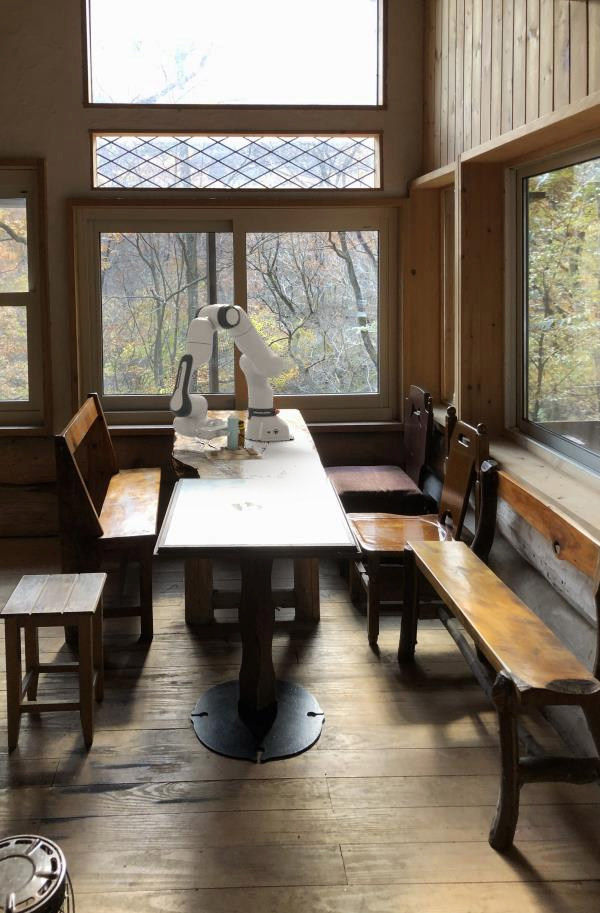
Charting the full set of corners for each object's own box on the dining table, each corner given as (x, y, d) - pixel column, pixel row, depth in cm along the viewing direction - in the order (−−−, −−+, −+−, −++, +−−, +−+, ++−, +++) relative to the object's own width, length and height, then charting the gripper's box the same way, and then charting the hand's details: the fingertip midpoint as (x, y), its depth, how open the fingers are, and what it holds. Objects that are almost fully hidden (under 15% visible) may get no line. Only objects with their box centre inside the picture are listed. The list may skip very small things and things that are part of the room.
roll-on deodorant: (236, 448, 379) (237, 413, 376) (238, 450, 375) (239, 414, 371) (226, 448, 378) (226, 413, 375) (228, 450, 374) (228, 414, 370)
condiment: (248, 449, 392) (248, 421, 390) (231, 450, 388) (231, 422, 385) (239, 445, 398) (240, 418, 396) (222, 447, 393) (223, 420, 391)
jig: (255, 452, 385) (255, 445, 385) (261, 458, 373) (261, 451, 372) (203, 453, 380) (203, 446, 380) (208, 459, 368) (208, 452, 367)
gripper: (191, 424, 372) (219, 428, 365) (221, 418, 389) (248, 422, 382) (191, 440, 373) (219, 444, 366) (221, 433, 390) (248, 437, 383)
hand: (234, 433), depth 374 cm, fingers closed on roll-on deodorant, 4 cm apart
